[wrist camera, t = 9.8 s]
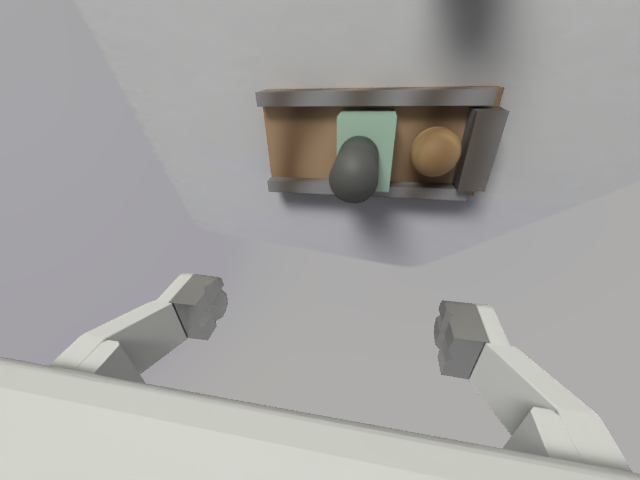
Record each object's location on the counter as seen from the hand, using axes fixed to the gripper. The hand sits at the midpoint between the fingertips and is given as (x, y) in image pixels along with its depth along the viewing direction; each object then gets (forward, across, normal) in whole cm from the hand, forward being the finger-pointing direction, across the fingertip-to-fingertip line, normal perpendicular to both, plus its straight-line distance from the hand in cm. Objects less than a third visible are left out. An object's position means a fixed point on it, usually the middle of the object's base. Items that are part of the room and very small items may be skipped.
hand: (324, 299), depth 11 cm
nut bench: (+24, -1, 0) cm, 24 cm away
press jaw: (+22, -1, 0) cm, 22 cm away
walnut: (+20, -7, 0) cm, 21 cm away
